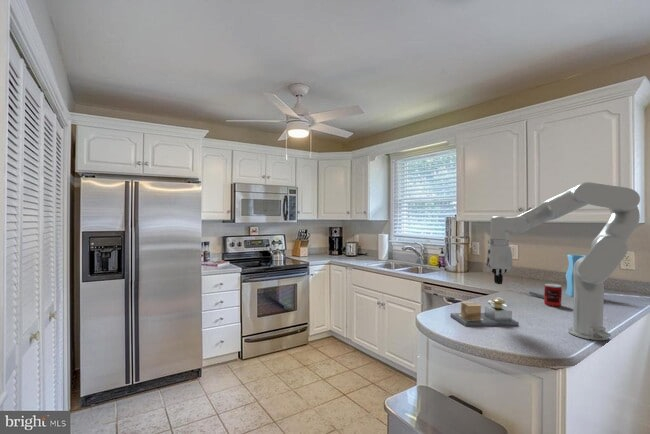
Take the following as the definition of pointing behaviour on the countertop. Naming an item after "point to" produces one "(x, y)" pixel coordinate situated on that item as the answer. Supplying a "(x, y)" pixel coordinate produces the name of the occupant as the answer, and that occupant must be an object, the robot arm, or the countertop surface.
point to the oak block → (470, 310)
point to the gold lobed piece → (498, 303)
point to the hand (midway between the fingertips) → (498, 283)
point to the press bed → (489, 318)
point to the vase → (571, 274)
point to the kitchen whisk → (530, 291)
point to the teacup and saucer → (493, 302)
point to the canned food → (552, 295)
